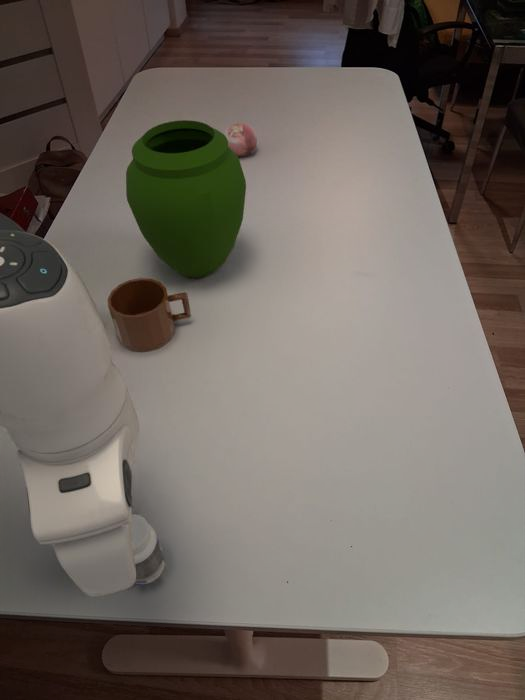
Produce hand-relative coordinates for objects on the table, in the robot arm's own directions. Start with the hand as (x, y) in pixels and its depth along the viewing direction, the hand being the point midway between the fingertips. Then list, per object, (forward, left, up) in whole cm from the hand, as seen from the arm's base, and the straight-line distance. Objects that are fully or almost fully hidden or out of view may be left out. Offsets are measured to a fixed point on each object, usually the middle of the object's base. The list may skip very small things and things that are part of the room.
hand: (121, 508), depth 52 cm
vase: (+15, +53, -14) cm, 57 cm away
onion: (+32, +93, -14) cm, 99 cm away
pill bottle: (0, 0, -14) cm, 14 cm away
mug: (+5, +38, -13) cm, 41 cm away
